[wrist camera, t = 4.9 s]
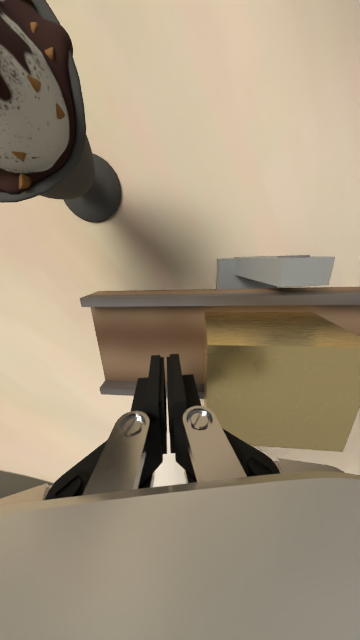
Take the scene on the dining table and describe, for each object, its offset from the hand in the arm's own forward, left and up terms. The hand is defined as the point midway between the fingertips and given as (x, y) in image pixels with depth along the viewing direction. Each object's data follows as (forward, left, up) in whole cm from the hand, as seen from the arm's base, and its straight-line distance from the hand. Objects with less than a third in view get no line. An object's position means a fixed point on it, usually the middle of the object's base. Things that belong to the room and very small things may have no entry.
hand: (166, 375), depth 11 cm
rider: (0, +6, -2) cm, 7 cm away
